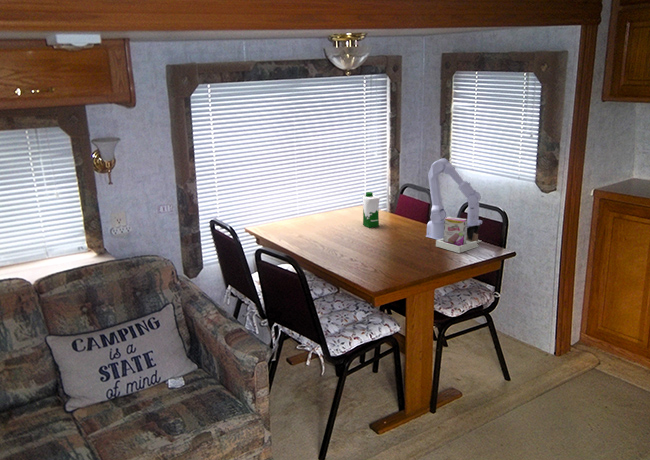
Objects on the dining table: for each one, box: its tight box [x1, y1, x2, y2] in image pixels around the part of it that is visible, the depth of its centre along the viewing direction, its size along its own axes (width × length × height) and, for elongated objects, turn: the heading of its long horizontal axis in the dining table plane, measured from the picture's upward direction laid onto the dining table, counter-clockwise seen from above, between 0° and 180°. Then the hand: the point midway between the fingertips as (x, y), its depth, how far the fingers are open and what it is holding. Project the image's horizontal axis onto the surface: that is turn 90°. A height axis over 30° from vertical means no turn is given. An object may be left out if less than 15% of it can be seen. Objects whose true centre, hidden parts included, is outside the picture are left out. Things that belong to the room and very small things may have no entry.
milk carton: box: [362, 191, 381, 229], centre depth 358 cm, size 9×9×20 cm
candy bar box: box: [443, 216, 468, 246], centre depth 315 cm, size 11×5×16 cm, turn 60°
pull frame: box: [435, 233, 482, 254], centre depth 321 cm, size 15×25×5 cm, turn 130°
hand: (471, 238), depth 327 cm, fingers closed on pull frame, 2 cm apart
